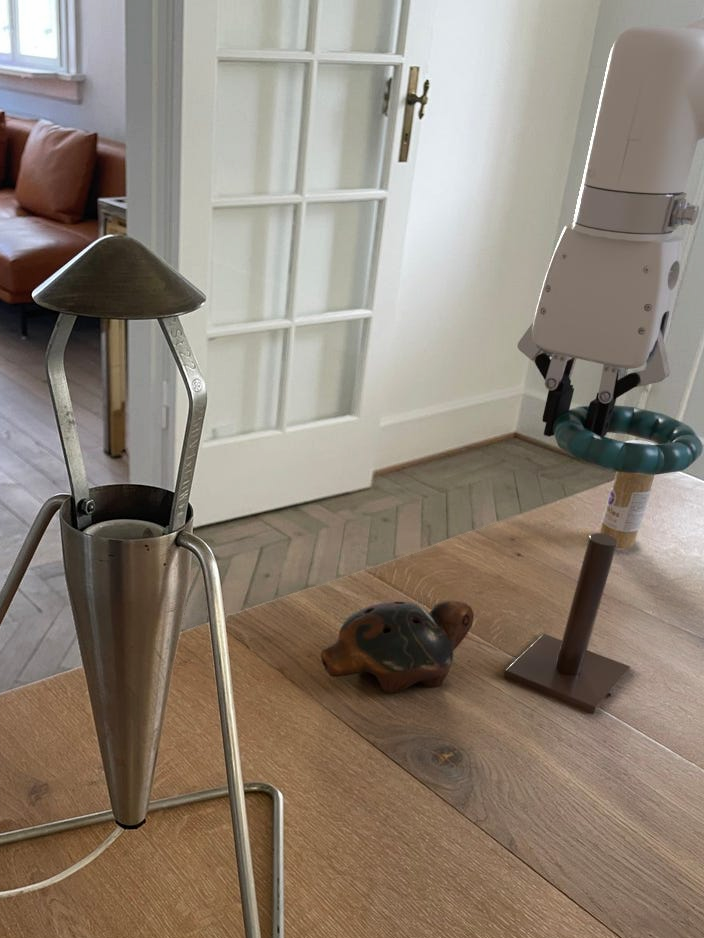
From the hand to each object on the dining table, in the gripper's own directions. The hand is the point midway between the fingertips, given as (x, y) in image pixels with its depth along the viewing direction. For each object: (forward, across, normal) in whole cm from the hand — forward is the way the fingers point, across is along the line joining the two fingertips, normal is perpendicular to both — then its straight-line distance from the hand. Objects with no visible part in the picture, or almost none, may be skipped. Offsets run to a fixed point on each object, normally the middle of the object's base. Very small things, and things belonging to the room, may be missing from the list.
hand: (572, 435), depth 85 cm
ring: (-1, -5, 0) cm, 5 cm away
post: (+24, -5, +1) cm, 24 cm away
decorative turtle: (+24, +8, +12) cm, 28 cm away
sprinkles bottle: (+24, +2, -31) cm, 39 cm away
